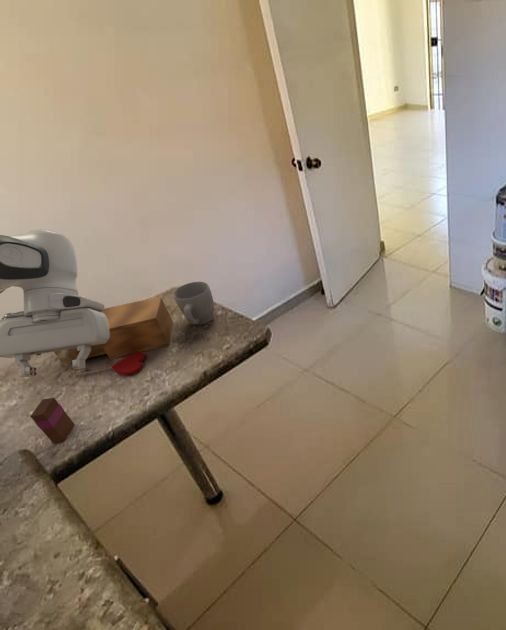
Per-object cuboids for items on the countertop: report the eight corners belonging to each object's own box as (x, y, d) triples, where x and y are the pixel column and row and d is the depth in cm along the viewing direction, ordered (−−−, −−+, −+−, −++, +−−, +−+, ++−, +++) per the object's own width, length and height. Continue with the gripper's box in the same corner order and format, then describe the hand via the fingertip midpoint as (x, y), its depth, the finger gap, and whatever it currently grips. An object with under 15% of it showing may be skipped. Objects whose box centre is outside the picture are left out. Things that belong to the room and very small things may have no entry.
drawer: (41, 372, 104) (25, 350, 100) (54, 348, 112) (39, 327, 108) (121, 352, 109) (108, 331, 105) (127, 331, 116) (116, 310, 113)
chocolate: (52, 443, 87) (29, 416, 82) (63, 426, 90) (42, 399, 86) (64, 441, 87) (42, 414, 82) (75, 424, 91) (54, 397, 86)
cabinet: (110, 359, 108) (93, 332, 103) (118, 335, 117) (103, 308, 112) (169, 345, 112) (155, 318, 107) (173, 322, 120) (160, 296, 115)
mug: (191, 312, 124) (178, 283, 118) (223, 308, 125) (211, 279, 119) (178, 338, 114) (164, 307, 108) (213, 333, 115) (200, 302, 109)
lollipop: (70, 388, 100) (140, 373, 103) (68, 385, 99) (139, 370, 102) (82, 366, 106) (148, 352, 109) (80, 363, 106) (147, 349, 109)
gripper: (-16, 311, 87) (-16, 380, 84) (93, 296, 89) (97, 362, 87) (10, 317, 93) (11, 381, 91) (112, 302, 95) (115, 365, 93)
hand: (54, 372), depth 89 cm, fingers open, 8 cm apart
